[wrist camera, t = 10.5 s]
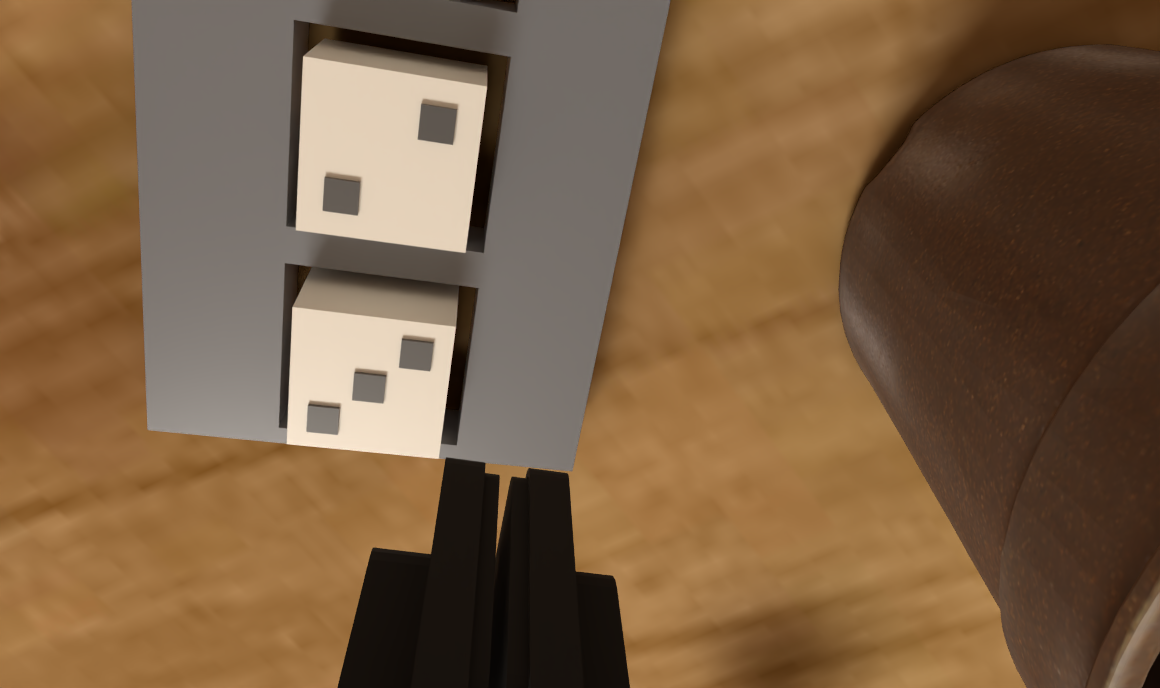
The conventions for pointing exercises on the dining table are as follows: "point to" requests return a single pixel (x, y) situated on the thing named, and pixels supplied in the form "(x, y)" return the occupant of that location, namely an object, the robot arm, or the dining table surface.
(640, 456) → the dining table surface
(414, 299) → the three-pip tile
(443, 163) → the tile
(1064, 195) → the plant pot
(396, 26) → the panel
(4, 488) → the dining table surface
